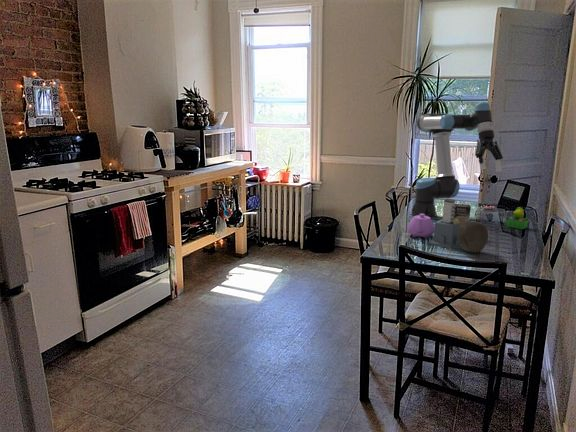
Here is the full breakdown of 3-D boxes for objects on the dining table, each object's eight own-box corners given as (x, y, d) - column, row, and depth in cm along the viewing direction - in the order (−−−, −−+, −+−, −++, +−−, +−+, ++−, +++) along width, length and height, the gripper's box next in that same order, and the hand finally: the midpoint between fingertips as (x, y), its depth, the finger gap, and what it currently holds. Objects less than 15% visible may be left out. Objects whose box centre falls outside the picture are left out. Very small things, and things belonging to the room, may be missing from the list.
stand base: (428, 244, 234) (430, 219, 230) (441, 237, 245) (442, 213, 242) (451, 248, 226) (453, 223, 223) (463, 241, 238) (465, 217, 234)
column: (440, 240, 235) (444, 200, 230) (443, 238, 238) (447, 198, 233) (450, 241, 232) (453, 201, 227) (453, 240, 235) (456, 200, 230)
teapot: (432, 242, 235) (434, 220, 232) (404, 240, 240) (405, 217, 237) (435, 232, 254) (437, 211, 250) (409, 230, 259) (410, 209, 256)
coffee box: (449, 234, 249) (452, 206, 245) (450, 231, 255) (452, 203, 251) (468, 236, 246) (470, 207, 242) (467, 233, 252) (470, 204, 248)
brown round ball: (492, 256, 215) (496, 225, 212) (463, 257, 214) (466, 226, 211) (478, 246, 229) (481, 217, 225) (450, 247, 228) (453, 218, 224)
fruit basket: (503, 226, 264) (505, 207, 262) (508, 223, 271) (510, 205, 268) (524, 230, 257) (527, 210, 254) (529, 227, 263) (532, 208, 260)
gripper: (477, 126, 233) (482, 166, 230) (506, 132, 246) (512, 170, 243) (464, 131, 239) (469, 170, 236) (493, 137, 253) (499, 174, 249)
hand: (491, 170), depth 239 cm, fingers open, 13 cm apart
